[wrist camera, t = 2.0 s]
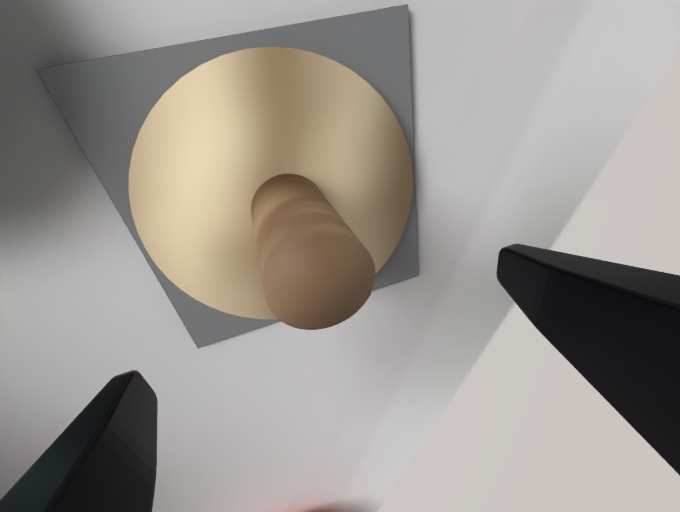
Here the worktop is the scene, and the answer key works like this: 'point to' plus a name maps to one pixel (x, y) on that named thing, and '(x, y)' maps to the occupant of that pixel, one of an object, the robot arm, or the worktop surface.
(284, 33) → the mat
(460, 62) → the worktop surface
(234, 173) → the lid
